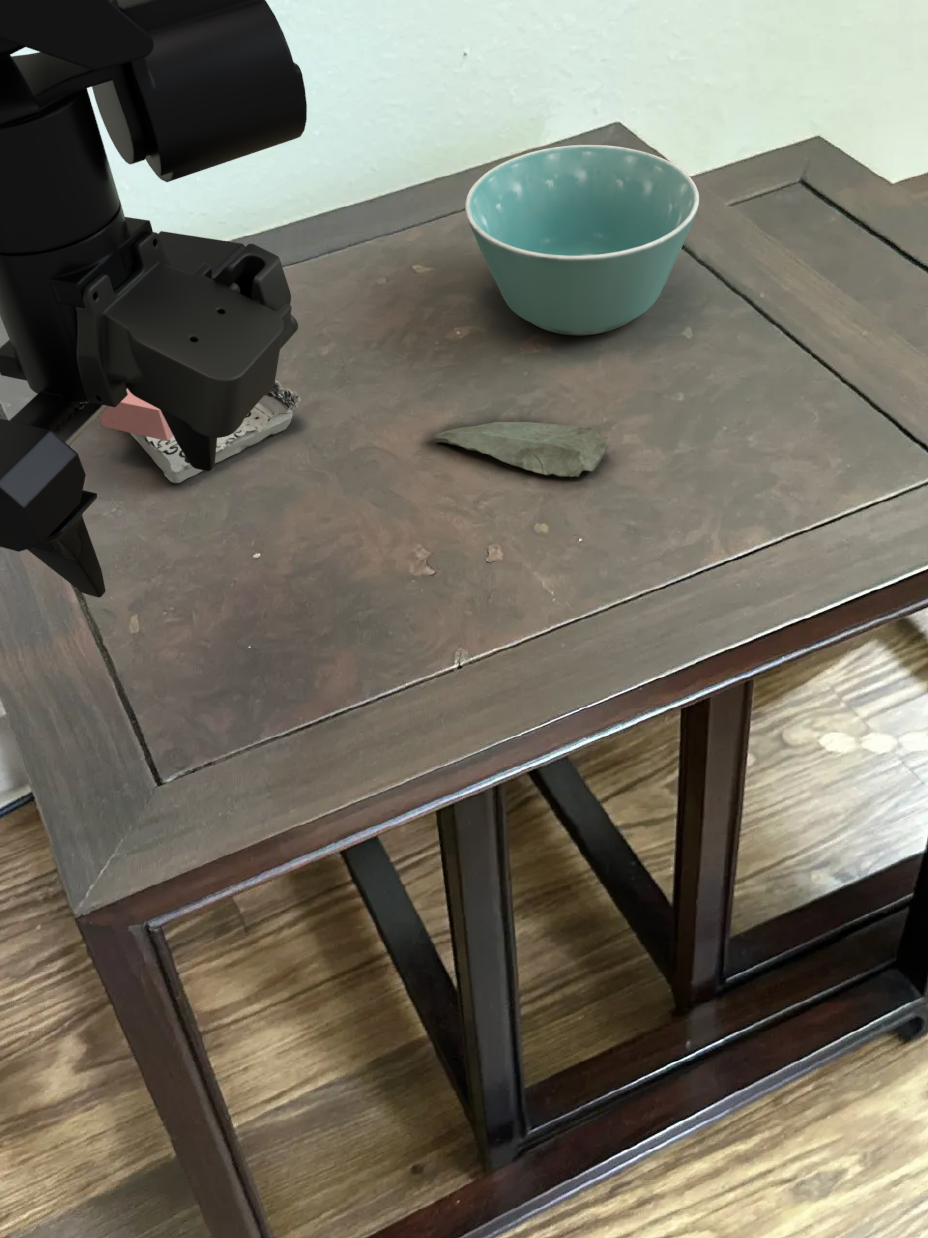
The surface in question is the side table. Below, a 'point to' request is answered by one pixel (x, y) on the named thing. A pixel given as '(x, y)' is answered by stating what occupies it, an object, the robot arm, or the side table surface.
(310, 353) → the side table surface
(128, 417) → the eraser
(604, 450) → the stone
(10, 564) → the side table surface
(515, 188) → the bowl
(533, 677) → the side table surface
